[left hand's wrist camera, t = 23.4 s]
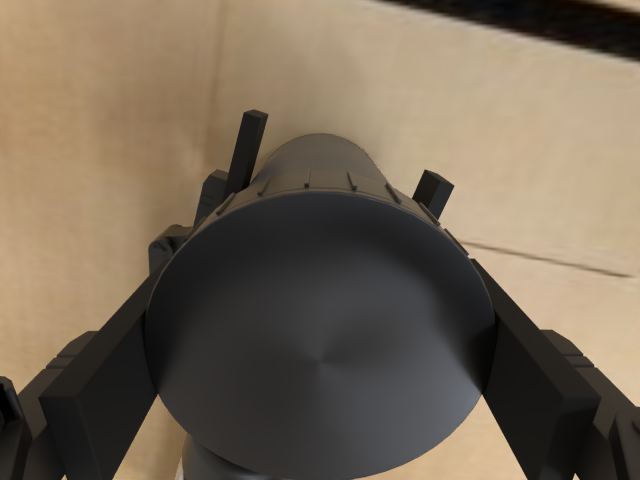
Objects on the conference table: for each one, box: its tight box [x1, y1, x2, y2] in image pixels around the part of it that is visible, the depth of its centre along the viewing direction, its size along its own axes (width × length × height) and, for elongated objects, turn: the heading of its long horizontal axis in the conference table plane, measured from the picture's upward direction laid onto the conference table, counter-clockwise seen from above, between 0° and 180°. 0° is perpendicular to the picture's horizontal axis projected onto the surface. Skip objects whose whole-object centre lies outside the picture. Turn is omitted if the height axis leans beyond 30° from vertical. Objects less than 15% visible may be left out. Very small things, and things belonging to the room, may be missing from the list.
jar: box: [248, 134, 389, 187], centre depth 18 cm, size 9×9×16 cm
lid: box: [144, 169, 496, 480], centre depth 11 cm, size 10×10×2 cm
